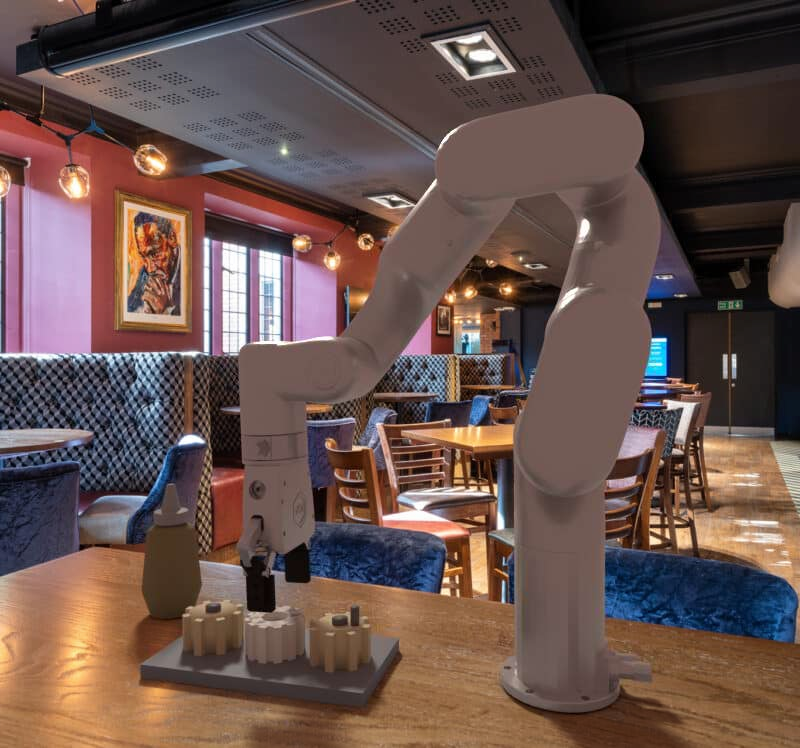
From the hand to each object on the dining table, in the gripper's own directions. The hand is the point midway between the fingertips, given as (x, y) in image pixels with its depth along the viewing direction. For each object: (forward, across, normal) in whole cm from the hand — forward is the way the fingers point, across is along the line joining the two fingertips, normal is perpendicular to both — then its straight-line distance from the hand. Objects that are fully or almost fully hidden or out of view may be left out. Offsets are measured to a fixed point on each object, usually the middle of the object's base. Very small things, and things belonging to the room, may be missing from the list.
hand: (280, 595), depth 78 cm
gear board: (+8, 0, +1) cm, 8 cm away
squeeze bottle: (+7, +11, +22) cm, 26 cm away
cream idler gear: (+6, 0, +1) cm, 6 cm away
